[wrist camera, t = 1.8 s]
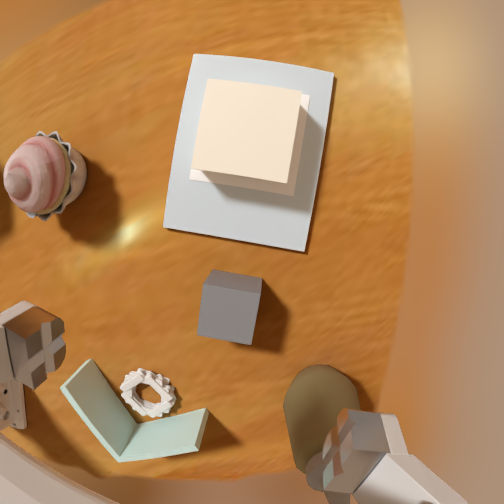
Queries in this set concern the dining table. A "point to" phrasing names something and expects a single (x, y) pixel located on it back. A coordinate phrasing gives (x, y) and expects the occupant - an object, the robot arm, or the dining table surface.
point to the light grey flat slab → (242, 188)
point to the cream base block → (246, 130)
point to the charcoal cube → (229, 306)
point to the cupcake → (44, 175)
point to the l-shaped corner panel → (122, 423)
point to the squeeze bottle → (317, 420)
